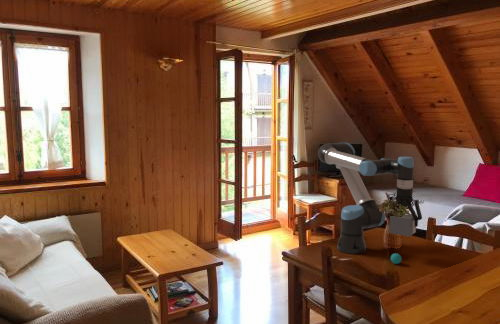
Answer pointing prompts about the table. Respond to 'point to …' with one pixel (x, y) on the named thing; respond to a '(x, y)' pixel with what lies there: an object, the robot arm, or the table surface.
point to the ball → (396, 258)
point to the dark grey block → (401, 225)
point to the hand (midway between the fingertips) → (402, 230)
